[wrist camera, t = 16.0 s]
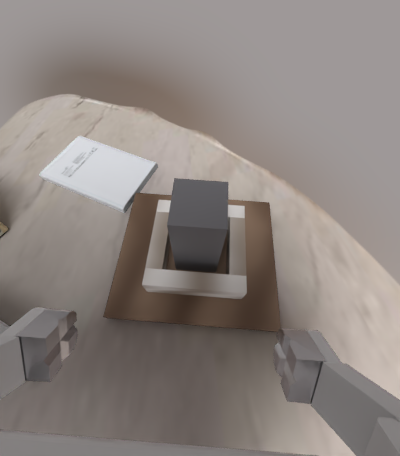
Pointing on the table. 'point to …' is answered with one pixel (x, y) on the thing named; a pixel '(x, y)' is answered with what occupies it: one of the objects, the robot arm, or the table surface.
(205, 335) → the table surface
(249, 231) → the socket board
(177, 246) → the plug
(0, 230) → the skincare box
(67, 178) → the external hard drive
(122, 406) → the table surface
